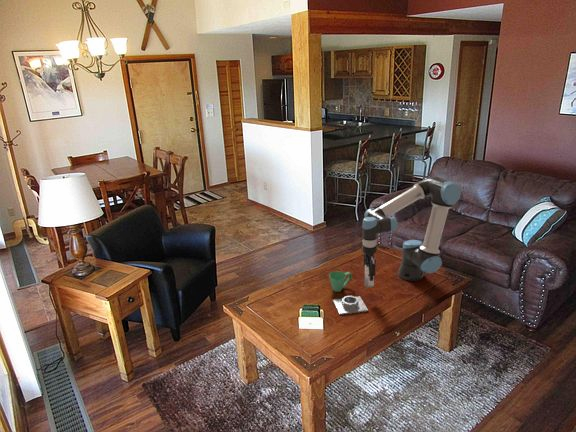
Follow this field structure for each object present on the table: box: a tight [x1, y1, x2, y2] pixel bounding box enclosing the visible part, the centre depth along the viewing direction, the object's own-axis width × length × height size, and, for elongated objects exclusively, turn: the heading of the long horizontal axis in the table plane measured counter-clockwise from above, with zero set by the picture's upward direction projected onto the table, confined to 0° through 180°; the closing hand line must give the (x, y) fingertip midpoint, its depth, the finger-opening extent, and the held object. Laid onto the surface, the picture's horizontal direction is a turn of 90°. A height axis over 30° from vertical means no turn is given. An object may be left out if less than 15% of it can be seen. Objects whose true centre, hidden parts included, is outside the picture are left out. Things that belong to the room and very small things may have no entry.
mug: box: [328, 270, 352, 293], centre depth 239 cm, size 15×10×10 cm
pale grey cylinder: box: [364, 264, 374, 288], centre depth 224 cm, size 5×5×12 cm
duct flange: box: [332, 295, 369, 316], centre depth 223 cm, size 16×14×4 cm
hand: (369, 282), depth 226 cm, fingers closed on pale grey cylinder, 5 cm apart
